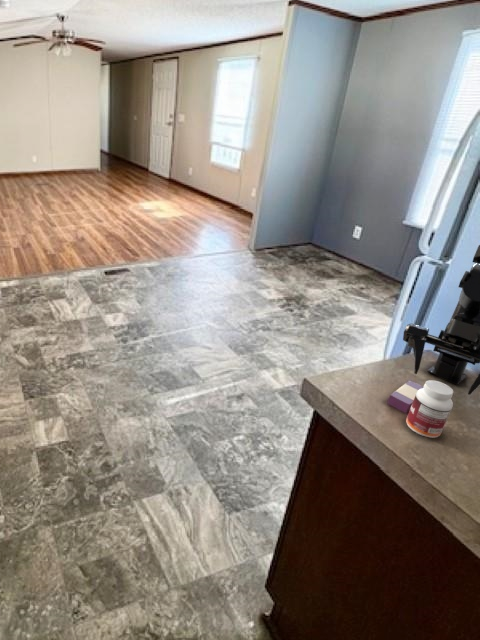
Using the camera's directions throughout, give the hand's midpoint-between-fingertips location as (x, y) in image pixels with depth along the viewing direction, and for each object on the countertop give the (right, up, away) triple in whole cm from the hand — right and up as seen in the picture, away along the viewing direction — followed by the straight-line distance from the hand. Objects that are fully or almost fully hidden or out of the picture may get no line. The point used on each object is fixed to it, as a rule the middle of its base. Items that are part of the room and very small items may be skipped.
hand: (441, 383), depth 89 cm
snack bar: (0, -7, +10) cm, 12 cm away
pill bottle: (-2, -10, +2) cm, 11 cm away
